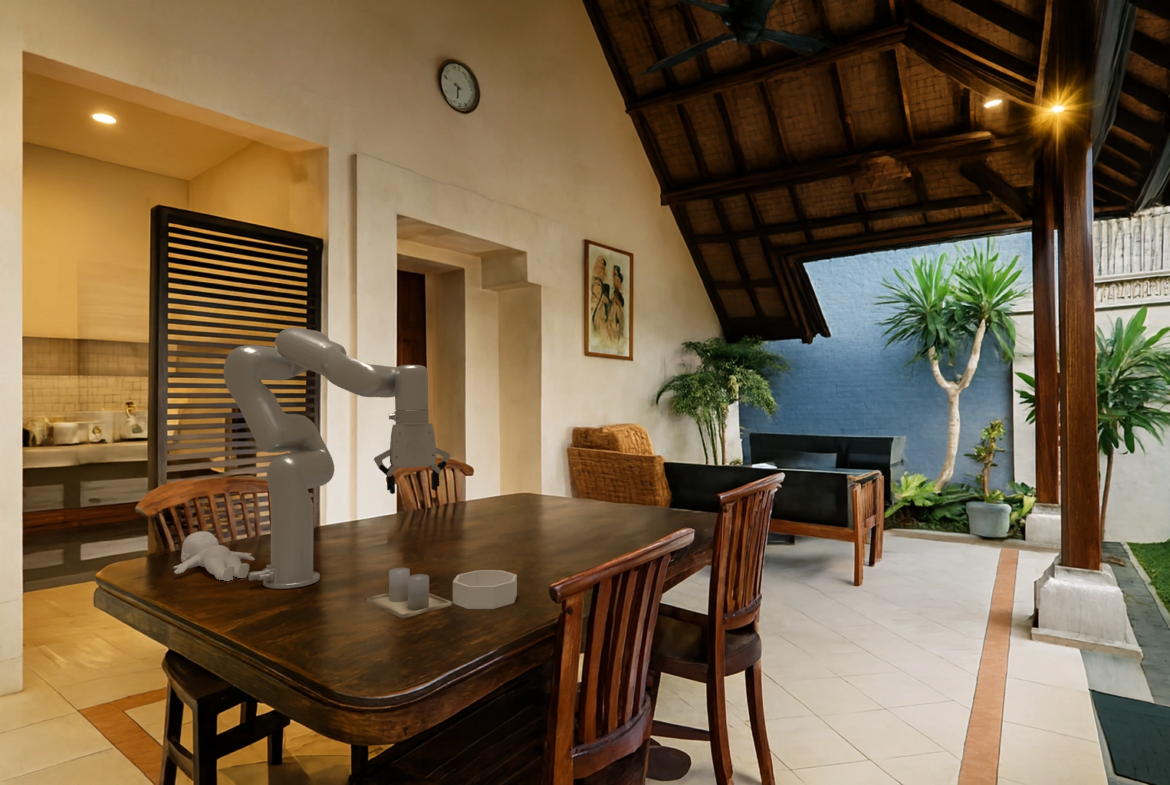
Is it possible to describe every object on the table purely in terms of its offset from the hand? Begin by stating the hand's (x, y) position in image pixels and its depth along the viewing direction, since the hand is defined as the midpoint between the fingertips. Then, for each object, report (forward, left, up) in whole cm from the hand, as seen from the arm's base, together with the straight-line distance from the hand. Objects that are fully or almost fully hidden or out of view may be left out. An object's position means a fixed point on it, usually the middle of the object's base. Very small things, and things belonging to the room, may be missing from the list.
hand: (413, 491), depth 149 cm
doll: (-27, +54, -24) cm, 65 cm away
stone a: (-6, -4, -23) cm, 24 cm away
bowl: (+8, -17, -23) cm, 30 cm away
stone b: (-6, -12, -23) cm, 26 cm away
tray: (-6, -8, -23) cm, 25 cm away
